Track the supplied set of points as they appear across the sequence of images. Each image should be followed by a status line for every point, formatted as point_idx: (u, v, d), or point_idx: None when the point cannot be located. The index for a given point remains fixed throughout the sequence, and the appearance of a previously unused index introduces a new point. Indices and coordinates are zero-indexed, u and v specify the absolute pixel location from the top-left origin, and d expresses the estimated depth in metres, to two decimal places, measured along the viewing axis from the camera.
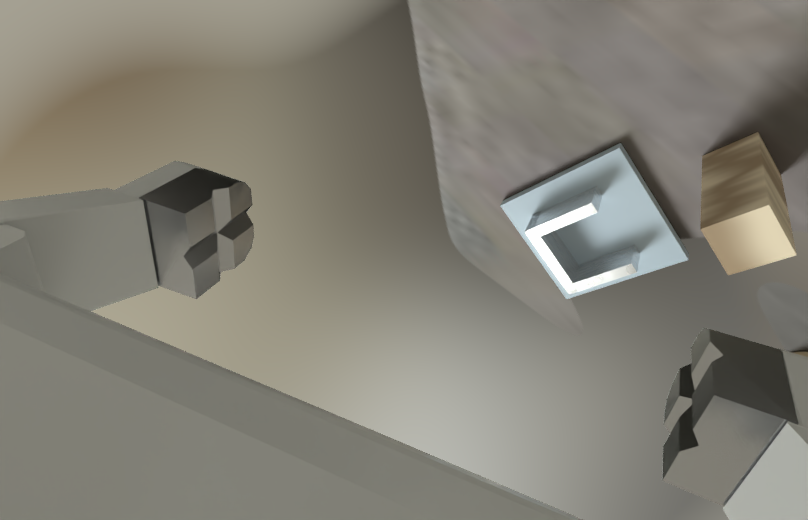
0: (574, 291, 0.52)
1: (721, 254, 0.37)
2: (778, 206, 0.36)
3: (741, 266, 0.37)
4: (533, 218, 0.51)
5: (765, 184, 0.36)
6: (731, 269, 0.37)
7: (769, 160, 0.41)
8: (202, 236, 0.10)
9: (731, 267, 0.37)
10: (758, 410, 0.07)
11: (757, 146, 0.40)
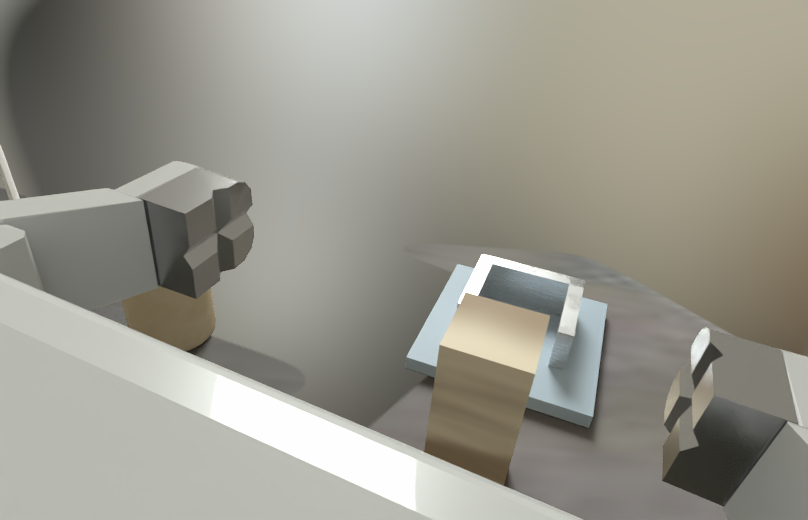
0: (482, 258, 0.42)
1: (499, 305, 0.26)
2: (478, 407, 0.24)
3: (467, 305, 0.26)
4: None
5: (521, 419, 0.24)
6: (471, 298, 0.26)
7: None
8: (202, 236, 0.10)
9: (473, 299, 0.26)
10: (758, 410, 0.07)
11: None
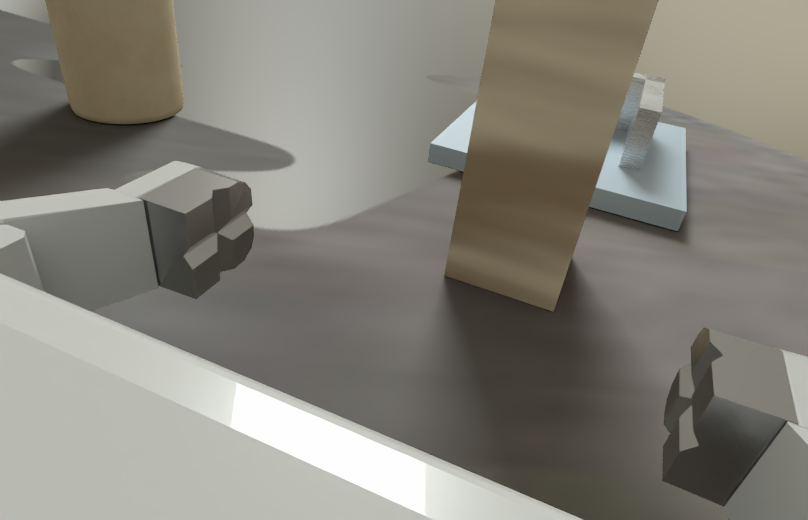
0: None
1: None
2: (561, 55, 0.15)
3: None
4: None
5: (634, 66, 0.15)
6: None
7: (518, 252, 0.19)
8: (202, 236, 0.10)
9: None
10: (758, 410, 0.07)
11: None
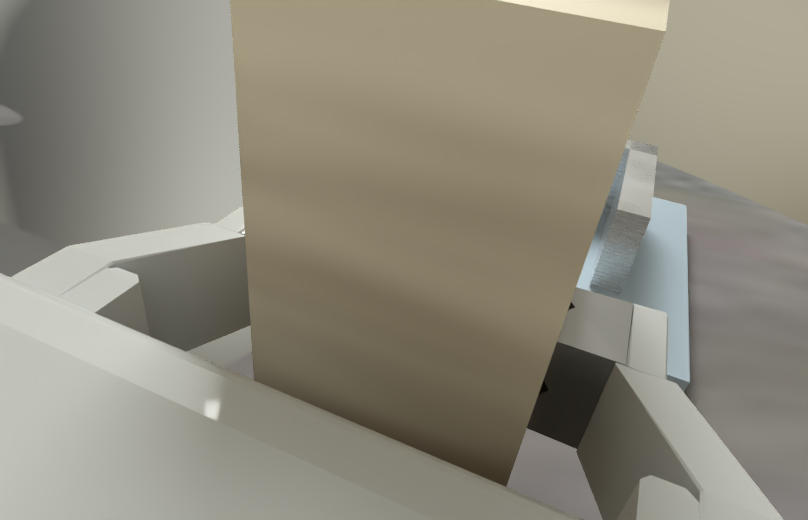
0: None
1: None
2: (398, 260, 0.06)
3: None
4: None
5: (565, 304, 0.06)
6: None
7: None
8: None
9: None
10: (593, 354, 0.07)
11: None
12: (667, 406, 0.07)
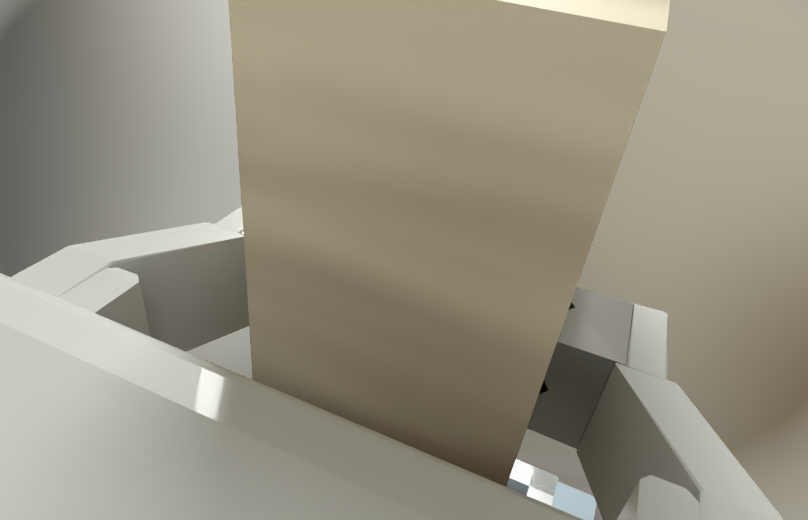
0: None
1: None
2: (397, 261, 0.06)
3: None
4: None
5: (565, 306, 0.06)
6: None
7: None
8: None
9: None
10: (593, 353, 0.07)
11: None
12: (667, 404, 0.07)
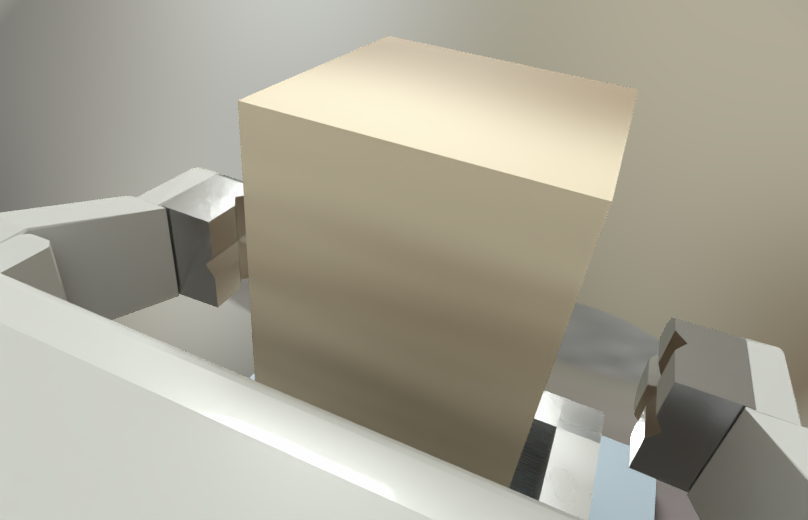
0: None
1: (482, 60, 0.09)
2: (388, 355, 0.07)
3: (384, 52, 0.08)
4: None
5: (535, 402, 0.07)
6: (400, 43, 0.09)
7: None
8: (225, 244, 0.09)
9: (406, 46, 0.09)
10: (718, 396, 0.07)
11: None
12: None
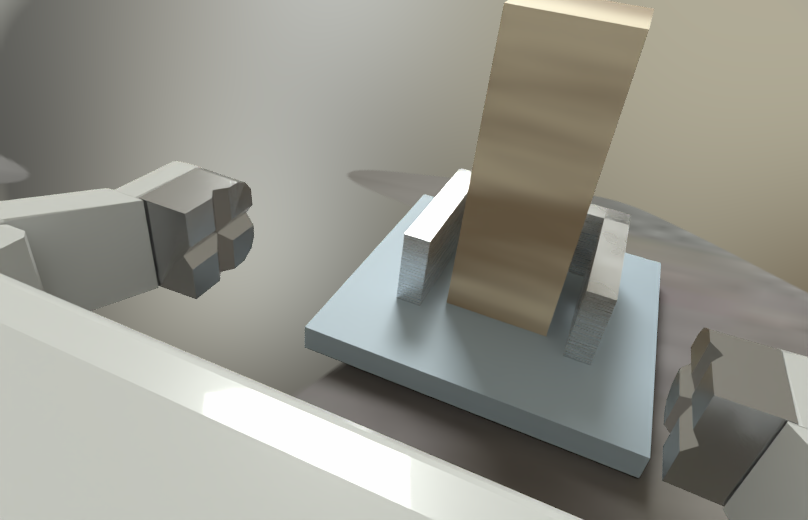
0: (458, 174, 0.25)
1: None
2: (550, 115, 0.17)
3: None
4: None
5: (615, 126, 0.17)
6: None
7: (514, 283, 0.21)
8: (202, 236, 0.10)
9: None
10: (758, 410, 0.07)
11: None
12: None
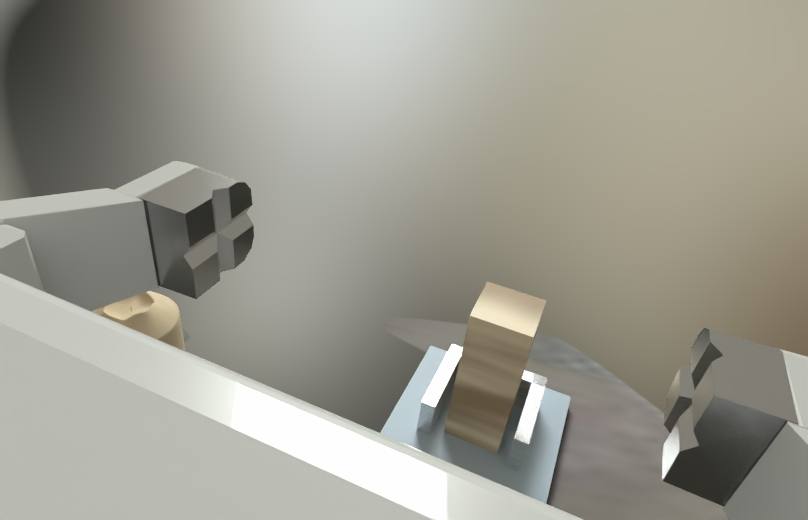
0: (451, 349, 0.43)
1: (511, 292, 0.37)
2: (493, 360, 0.35)
3: (488, 291, 0.37)
4: None
5: (522, 369, 0.35)
6: (491, 286, 0.37)
7: (479, 427, 0.39)
8: (202, 236, 0.10)
9: (493, 287, 0.37)
10: (758, 410, 0.07)
11: (504, 429, 0.38)
12: None
